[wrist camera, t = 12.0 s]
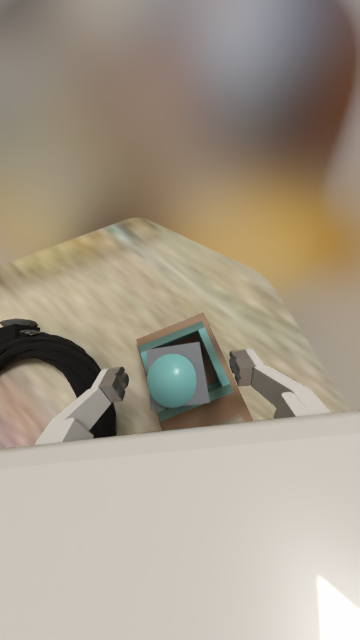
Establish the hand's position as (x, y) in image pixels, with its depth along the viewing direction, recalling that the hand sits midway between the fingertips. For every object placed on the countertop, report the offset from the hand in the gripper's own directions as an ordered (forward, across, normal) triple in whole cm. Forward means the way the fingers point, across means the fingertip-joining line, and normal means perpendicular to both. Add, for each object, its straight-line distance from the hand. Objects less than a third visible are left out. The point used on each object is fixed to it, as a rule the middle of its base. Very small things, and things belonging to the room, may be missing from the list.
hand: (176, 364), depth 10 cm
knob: (+5, 0, +6) cm, 7 cm away
